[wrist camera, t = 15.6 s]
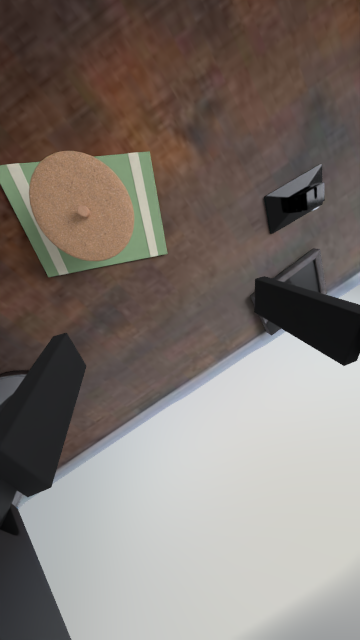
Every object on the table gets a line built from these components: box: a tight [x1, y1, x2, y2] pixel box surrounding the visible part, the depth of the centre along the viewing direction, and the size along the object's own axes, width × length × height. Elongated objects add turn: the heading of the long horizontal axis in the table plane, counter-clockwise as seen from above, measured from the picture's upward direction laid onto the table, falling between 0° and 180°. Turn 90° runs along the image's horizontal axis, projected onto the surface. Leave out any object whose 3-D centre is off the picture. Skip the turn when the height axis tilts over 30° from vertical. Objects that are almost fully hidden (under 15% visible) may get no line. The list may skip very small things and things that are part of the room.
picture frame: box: [250, 249, 327, 335], centre depth 43 cm, size 13×2×18 cm
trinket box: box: [29, 151, 134, 261], centre depth 23 cm, size 11×11×9 cm
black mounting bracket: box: [264, 164, 324, 234], centre depth 32 cm, size 12×7×5 cm, turn 116°
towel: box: [0, 152, 167, 277], centre depth 27 cm, size 20×14×1 cm
